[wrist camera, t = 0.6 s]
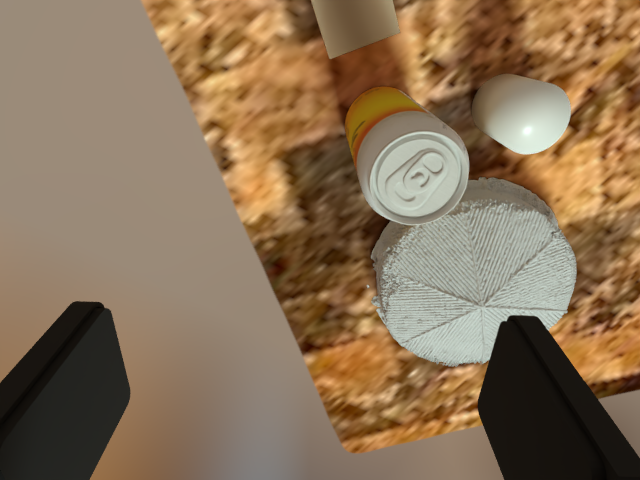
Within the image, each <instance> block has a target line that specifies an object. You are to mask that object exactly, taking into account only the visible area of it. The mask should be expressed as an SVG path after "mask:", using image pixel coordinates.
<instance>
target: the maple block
mask: <svg viewBox="0 0 640 480" xmlns="http://www.w3.org/2000/svg"><path fill="white" fill-rule="evenodd" d="M311 3H312V6H313V9H314V12H315V15H316V19H317V22H318V25H319V28H320V31H321V35H322V38H323V41H324V44H325V47H326V51H327V54H328V56H329V59H332V58H335V57H337V56H340V55H343V54H345V53H348V52H351V51H353V50H356V49H358V48H361V47H364V46H366V45H369V44H372V43H374V42H377V41H380V40H382V39H385V38H388V37H390V36H393V35H395V34H398V33H400V30H399V25H398V21H397V17H396V13H395V8H394V4H393V0H311Z"/></svg>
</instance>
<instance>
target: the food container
mask: <svg viewBox="0 0 640 480" xmlns="http://www.w3.org/2000/svg"><path fill="white" fill-rule="evenodd" d="M561 231H562V230H561V229H559V228H558V222H557V219H556V218H555V215H554V213H553V212H552V209H550V207H548V206H547V205H546V203H545V202H544V201H543V200H540V198H539V197H538V196H537V195H536V194H533V193H532V192H531V191H530V190H527V189H525V188H524V187H522V186H519V185H517V184H514V183H512V182H509V181H506V180H504V179H500V180H498V179H497V178H493V177H492V178H488V180H487V179H486V177H483V178H482V177H479V180H478V181H476V180H468V182H467V186H466V189H465V192H464V194H463V196H462V198H461V199H460V201H459V202H458V203H457V205H456V206H455V207H454V208H453V209H452V210H451V211H450V212H449V213H447V214H446V215H445V216H443V217H441V218H440V219H438V220H436V221H433V222H430V223H427V224H422V225H406V224H401V223H398V222H395V221H390V222H389V223H388V225H387V226H386V227H385V229H384V230H383V232H382V233H381V236H380V239H379V240H378V241H377V243H376V245H375V247H374V248H373V251H372V255H371V259H373V260H374V262H375V263H374V264H373V267H374V266H375V267H374V269H373V270H375V271H376V280H377V293H378V295H377V297H376V296H375V297H373V298H372V299H373V300H372V301H371V302H372V304H374V305H376V306H378V307H379V306H380V307H381V308H380V309H379V308H378V310H377V309H376V310H377V312H378V313H379V316H380V317H381V319H382V321H383V322H384V324H386V327H387V328H388V329H389V330H388V331H389V332H390V334H391V335H392V337H393V338H394V339H395V340H396V341H397V342H398V343H399V344H400V345H402V347H405V349H406V348H407V349H408V350H410V352H413V353H414V354H416V355H418V357H422V358H423V359H424V358H426V360H429V361H430V360H431V362H435V361H436V360H437V362H436V363H437V364H438V361H439V362H440V361H441V362H442V361H443V362H446V363H447V365H448V364H449V363H450V364H449V365H448V366H449V367H450V365H451V364H452V363H454V364H453V366H454V365H455V364H456V363H457V365H458V364H459V363H461V362H462V363H461V364H463V363H464V362H465V364H466V362H467V363H470V362H474V363H476V361H478V363H480V362H479V361H482V363H486V361H487V360H490V357H491V353H492V350H493V346H494V343H495V339H496V336H497V332H498V329H499V325H500V323H501V322H502V321H507V319H508V317H509V316H511V315H528V316H537V317H538V318H539V319H540V320H541V321H542V323H543V324H544V326H545V327H546V328H547V330H549V329H550V328H551V327H552V325H553V326H554V325H555V323H557V321H558V320H560V319H559V318H562V315H564V313H567V312H568V311H566V309H568V307H567V306H569V305H568V303H569V302H570V301H569V300H570V297H572V295H571V294H573V292H572V291H573V290H574V289H573V288H574V285H575V283H574V282H576V280H575V279H576V273H577V271H575V270H577V269H576V268H575V267H576V264H577V263H576V262H575V261H576V259H575V256H574V252H573V251H572V248H571V246H570V245H569V242H567V241H568V240H567V239H565V236H563V233H561ZM375 264H376V265H375ZM367 287H368V288H369V285H367ZM427 358H428V359H427ZM434 360H435V361H434ZM484 361H485V362H484ZM455 362H456V363H455ZM443 365H444V364H443ZM447 365H446V366H447ZM457 365H455V366H457ZM451 366H452V365H451ZM453 366H452V367H453ZM463 366H464V365H463ZM469 366H470V365H469Z"/></svg>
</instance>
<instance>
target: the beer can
mask: <svg viewBox="0 0 640 480" xmlns="http://www.w3.org/2000/svg"><path fill="white" fill-rule="evenodd" d="M345 131H346V136H347V140H348V143H349V147H350V150H351V154H352V157H353V161H354V164H355V168H356V171H357V175H358V178H359V182H360V185H361V189H362V192H363V195H364V197H365V199H366V200H367V202H368V203H369V205H370V206H371V207H372V208H373V209H374V210H375V211H376V212H377V213H378V214H380V215H381V216H383V217H385V218H386V219H389V220H391V221H395V222H398V223H401V224H406V225H422V224H427V223H430V222H433V221H436V220H438V219H440V218H441V217H443V216H445V215H446V214H447V213H449V212H450V211H451V210H452V209H453V208H454V207H455V206H456V205H457V203H458V202H459V201H460V199H461V198H462V196H463V194H464V192H465V189H466V186H467V182H468V174H469V157H468V152H467V149H466V147H465V145H464V143H463V141H462V139H461V138H460V136H459V135H458V134H457V133H456V132H455V131H454V130H453V129H451V128H450V127H449V126H447V125H446V124H445V123H443V122H442V121H441V120H440V119H438V118H437V117H436V116H434V115H433V114H432V113H430V112H429V111H428V110H426V109H425V108H424V107H422V106H421V105H420V104H418V103H417V102H416V101H414V100H413V99H412V98H410V97H409V96H408V95H406V94H405V93H404V92H402V91H400V90H398V89H396V88H393V87H386V86H382V87H375V88H372V89H369V90H367V91H365V92H364V93H362V94H361V95H360V96H359V97H357V98H356V99H355V101H354V102H353V103H352V105H351V106H350V108H349V110H348V113H347V116H346V121H345Z"/></svg>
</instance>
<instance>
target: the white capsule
mask: <svg viewBox="0 0 640 480" xmlns="http://www.w3.org/2000/svg"><path fill="white" fill-rule="evenodd" d="M471 113H472V118H473V121H474V123H475V125H476V126H477V127H478V129H480V130H481V131H482V132H484V133H485V134H487V135H488V136H490V137H492V138H493V139H495V140H496V141H498V142H499V143H501V144H503V145H504V146H506V147H507V148H509V149H510V150H512V151H514V152H516V153H520V154H534V153H538V152H541V151H543V150H545V149H547V148H549V147H550V146H552V145H553V144H554V143H555V142H556V141H557V140H558V139H559V138H560V137H561V136H562V134H563V133H564V131H565V130H566V128H567V125H568V123H569V119H570V114H571V107H570V102H569V99H568V97H567V95H566V93H565V92H564V91H563V90H562V89H561V88H559V87H558V86H556V85H554V84H550V83H547V82H543V81H539V80H535V79H530V78H526V77H522V76H518V75H514V74H500V75H497V76H495V77H492V78H491V79H489V80H488V81H486V82H485V83H484V84H483V85H482V86H481V87H480V88H479V90H478V91H477V93H476V94H475V96H474V99H473V102H472V108H471Z"/></svg>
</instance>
